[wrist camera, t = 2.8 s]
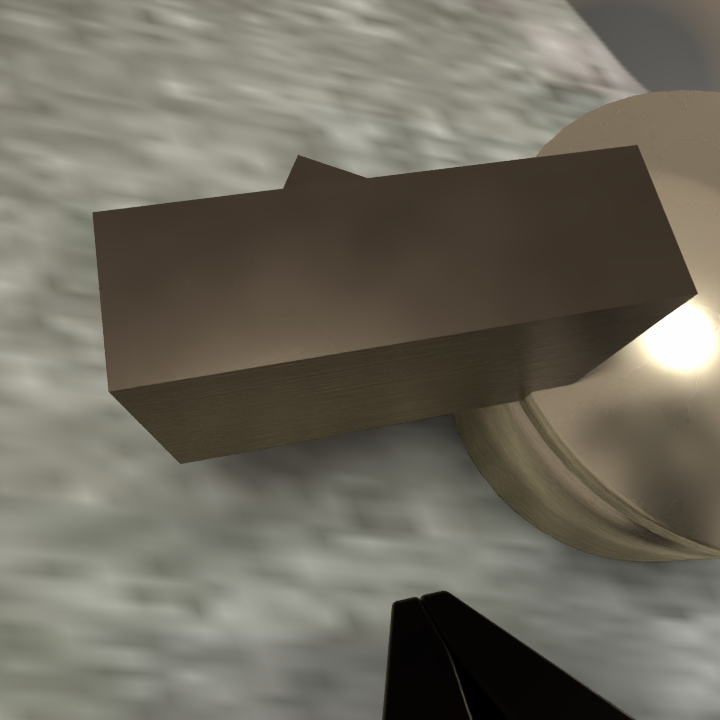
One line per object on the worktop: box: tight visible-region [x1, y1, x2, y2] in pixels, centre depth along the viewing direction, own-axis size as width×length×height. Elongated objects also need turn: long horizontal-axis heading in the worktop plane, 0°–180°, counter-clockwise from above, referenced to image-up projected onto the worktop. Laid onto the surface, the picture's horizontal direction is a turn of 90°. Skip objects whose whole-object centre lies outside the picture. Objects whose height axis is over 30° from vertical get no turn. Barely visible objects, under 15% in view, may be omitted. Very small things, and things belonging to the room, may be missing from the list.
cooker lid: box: [93, 90, 720, 556], centre depth 14 cm, size 22×13×6 cm, turn 102°
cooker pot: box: [283, 155, 720, 562], centre depth 21 cm, size 20×13×6 cm, turn 72°
